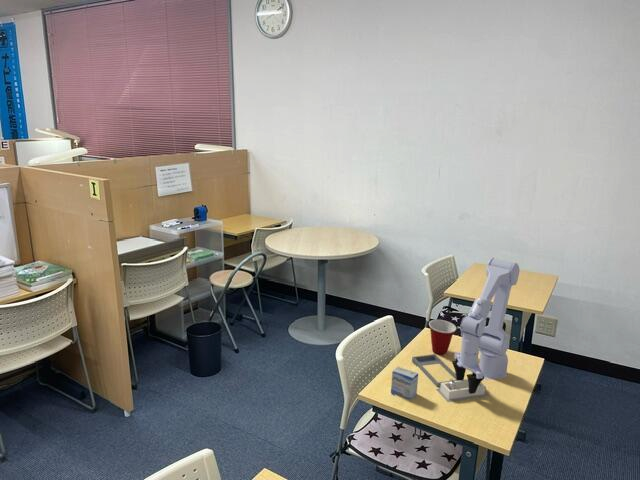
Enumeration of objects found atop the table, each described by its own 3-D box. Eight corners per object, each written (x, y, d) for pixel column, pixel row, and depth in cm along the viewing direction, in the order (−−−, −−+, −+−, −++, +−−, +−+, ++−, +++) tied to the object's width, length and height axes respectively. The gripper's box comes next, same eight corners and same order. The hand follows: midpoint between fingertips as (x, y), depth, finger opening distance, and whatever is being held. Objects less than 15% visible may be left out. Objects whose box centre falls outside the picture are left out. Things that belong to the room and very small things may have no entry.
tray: (434, 358, 187) (434, 354, 186) (461, 385, 168) (462, 380, 168) (411, 361, 184) (412, 356, 184) (436, 388, 166) (437, 383, 165)
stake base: (475, 384, 169) (477, 371, 167) (489, 397, 161) (491, 382, 160) (435, 390, 164) (437, 376, 163) (447, 403, 157) (448, 388, 156)
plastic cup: (444, 361, 185) (446, 333, 182) (421, 351, 193) (423, 324, 190) (459, 352, 192) (461, 325, 189) (436, 343, 200) (438, 317, 197)
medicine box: (390, 393, 162) (391, 370, 160) (396, 387, 166) (397, 365, 164) (411, 401, 158) (413, 378, 156) (416, 395, 161) (418, 372, 159)
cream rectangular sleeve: (479, 385, 167) (480, 377, 167) (488, 393, 162) (489, 385, 161) (440, 390, 163) (440, 382, 163) (448, 399, 158) (449, 391, 157)
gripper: (448, 342, 165) (444, 377, 168) (471, 362, 151) (467, 400, 154) (465, 340, 167) (462, 375, 170) (490, 360, 153) (486, 397, 156)
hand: (465, 386), depth 162 cm, fingers open, 7 cm apart
